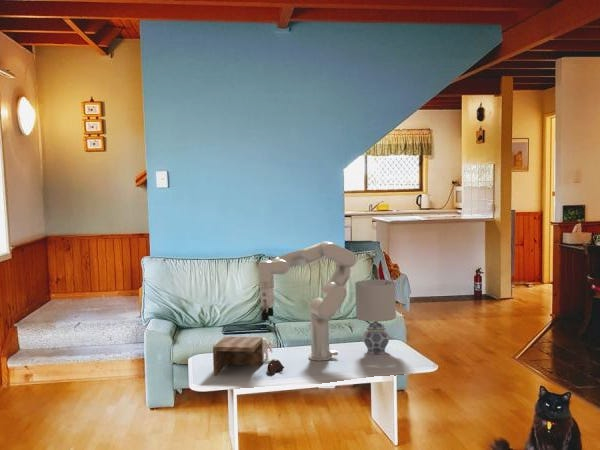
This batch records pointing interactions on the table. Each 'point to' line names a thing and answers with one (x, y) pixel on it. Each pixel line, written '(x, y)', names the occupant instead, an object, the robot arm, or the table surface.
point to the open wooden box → (237, 352)
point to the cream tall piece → (266, 347)
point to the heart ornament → (274, 366)
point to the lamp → (375, 311)
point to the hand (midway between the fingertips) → (267, 318)
